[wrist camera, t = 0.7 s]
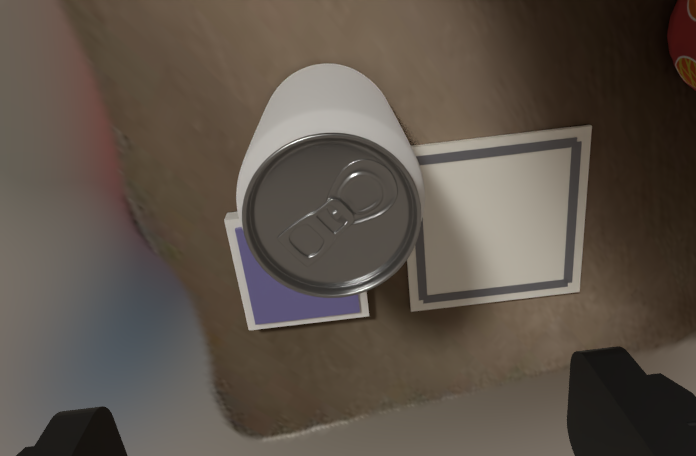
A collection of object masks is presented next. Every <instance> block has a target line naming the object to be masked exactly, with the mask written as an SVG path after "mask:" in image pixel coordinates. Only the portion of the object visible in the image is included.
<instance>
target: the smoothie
mask: <svg viewBox="0 0 696 456" xmlns="http://www.w3.org/2000/svg"><path fill="white" fill-rule="evenodd" d="M667 40H668V47H669V53H670V56H671V58H672V59H673V64H674V66H675V68H676V69H677V71H678V73H679V75H680V76H681V78H682V80H683V81H684V82H685V83H686V84H687V85H689V86H690V87H691V88H693V89H694V90H695V91H696V0H677V3H676V5H675V7H674V9H673V12H672V14H671V16H670V20H669V27H668V33H667Z"/></svg>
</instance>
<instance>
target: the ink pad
mask: <svg viewBox="0 0 696 456" xmlns="http://www.w3.org/2000/svg"><path fill="white" fill-rule="evenodd" d="M224 221H225V226H226V230H227V235H228V239H229V244H230V248H231V253H232V257H233V262H234V266H235V271H236V275H237V279H238V284H239V288H240V293H241V297H242V302H243V306H244V311H245V315H246V320H247V324H248V329H249V330H257V329H266V328H274V327H283V326H291V325H300V324H308V323H317V322H325V321H334V320H342V319H351V318H359V317H368V316H369V309H368V300H367V291H366V292H363V293H360V294H357V295H353V296H348V297H340V298H322V297H315V296H309V295H306V294H302V293H299V292H296V291H294V290H292V289H289V288H287V287H286V286H284V285H282V284H280V283H279V282H277V281H276V280H275V279H273V278H272V277H271V276H270V275H269V274H268V273H266V272H265V271H264V270H263V268H262V267H261V266H260V265H259V264H258V262H257V261H256V260H255V258H254V256H253V255H252V253H251V251H250V249H249V247H248V245H247V242H246V239H245V236H244V231H243V229H242V226H241V223H240V220H239V216H238V212H230V213H227V215H226V217H225V220H224Z"/></svg>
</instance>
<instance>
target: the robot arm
mask: <svg viewBox="0 0 696 456" xmlns="http://www.w3.org/2000/svg"><path fill="white" fill-rule="evenodd" d="M567 428H568V434H569V439H570V443H571V446H572V449H573V451H574V454H575V456H696V397H695V396H694V394H693V393H691V392H690V391H688V390H687V389H685V388H683V387H682V386H680V385H678V384H677V383H675V382H674V381H672V380H670V379H669V378H667V377H666V376H664V375H662V374H661V373H660V374H651V375H646V373H645V372H644V371H643V370H642V369H641V367H640V366H639V365H638V364H637V363H636V361H635V360H634V359H633V358H632V357H631V355H630V354H629V353H628V352H627V351H626V350H625V349H624V348H622V347H609V348H601V349H593V350H584V351H576V352H574V353H573V355H572V357H571V363H570V379H569V395H568V411H567ZM16 456H127V453H126V450H125V448H124V445H123V442H122V440H121V437H120V434H119V432H118V429H117V426H116V424H115V421H114V418H113V416H112V413H111V412H110V410H109V409H108V408H106V407H95V408H86V409H78V410H70V411H62V412H59V413H57V414H56V415H55V416H53V418H52V419H51V420H50V422H49V424H48V425H47V427H46V429H45V430H44V432H43V433H42V435H41V436H40V438H39V440H38V441H37V443H36V444H35V446H32V447H25V448H24V449H23V450H22V451H21V452H20V453H19V454H17V455H16Z"/></svg>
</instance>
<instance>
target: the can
mask: <svg viewBox="0 0 696 456" xmlns="http://www.w3.org/2000/svg"><path fill="white" fill-rule="evenodd" d="M236 202H237V211H238V216H239V220H240V223H241V226H242V229H243V231H244V236H245V239H246V242H247V245H248V247H249V249H250V251H251V253H252V255H253V256H254V258H255V260H256V261H257V262H258V264H259V265H260V266H261V267H262V268H263V270H264V271H265V272H266V273H268V274H269V275H270V276H271V277H272V278H273V279H275V280H276V281H277V282H279V283H280V284H282V285H284V286H286V287H287V288H289V289H292V290H294V291H296V292H299V293H302V294H306V295H309V296H315V297H322V298H340V297H348V296H353V295H357V294H360V293H363V292H366V291H368V290H371V289H373V288H375V287H377V286H378V285H380V284H382V283H383V282H385V281H386V280H388V279H389V278H390V277H391V276H393V275H394V274H395V273H396V272H397V271H398V270H399V269H400V268H401V267H402V266H403V264H404V263H405V262H406V260H407V259H408V258H409V256H410V254H411V253H412V251H413V249H414V247H415V244H416V242H417V239H418V236H419V232H420V226H421V221H422V217H423V213H424V207H425V186H424V180H423V175H422V171H421V168H420V165H419V162H418V160H417V158H416V155H415V153H414V151H413V149H412V147H411V145H410V143H409V141H408V139H407V137H406V135H405V133H404V131H403V129H402V127H401V126H400V124H399V122H398V120H397V118H396V116H395V114H394V112H393V110H392V109H391V107H390V105H389V103H388V101H387V100H386V98H385V96H384V95H383V93H382V92H381V91H380V89H379V88H378V87H377V86H376V85H375V84H374V83H373V82H372V81H371V80H369V79H368V78H367V77H366V76H364V75H363V74H361V73H360V72H358V71H356V70H354V69H352V68H350V67H347V66H343V65H338V64H317V65H312V66H308V67H305V68H303V69H301V70H299V71H297V72H295V73H293V74H292V75H290V76H289V77H288V78H286V79H285V80H284V81H283V82H282V83H281V84H280V85H279V86H278V88H277V89H276V90H275V92H274V93H273V95H272V97H271V98H270V100H269V102H268V104H267V106H266V109H265V111H264V113H263V115H262V118H261V120H260V122H259V124H258V127H257V129H256V131H255V134H254V136H253V138H252V141H251V143H250V146H249V148H248V150H247V153H246V155H245V158H244V161H243V163H242V166H241V170H240V173H239V177H238V183H237V193H236Z"/></svg>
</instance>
